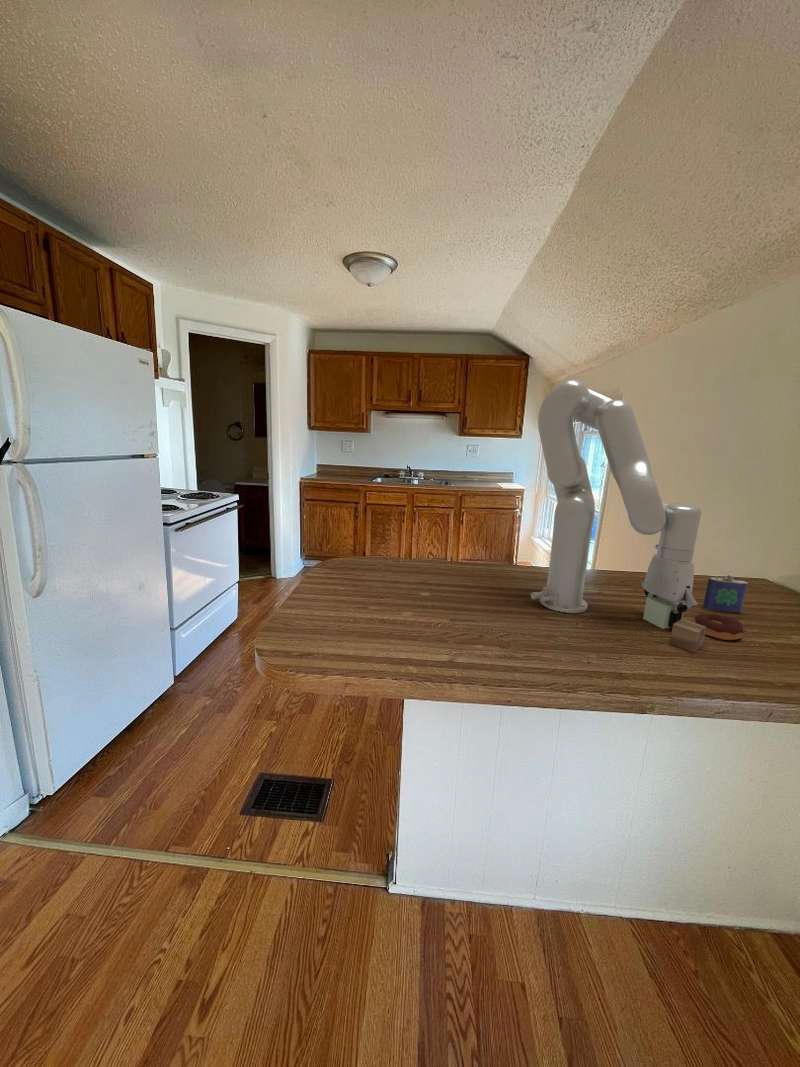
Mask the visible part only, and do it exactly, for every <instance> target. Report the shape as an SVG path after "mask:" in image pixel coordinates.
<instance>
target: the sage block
mask: <svg viewBox="0 0 800 1067" xmlns="http://www.w3.org/2000/svg"><path fill="white" fill-rule="evenodd" d="M644 605H645V606H644V612H643V618H642V620H645V621H647V622H648V623H651V624H653V625H655V626H657V627H658V628H660V629H662V630H665V629H671V628H673V627H669V626H668V623H669V618H670V613H671V612H673V607H672V602H670V601H668V600H665V599H663V598H661V597H658V596H657V597H648V598H647V599H646V598H645V604H644ZM678 607H679V603H678ZM684 613H685V612H684ZM684 613H682V618H681V619H683V618H684V617H683V616H684Z"/></svg>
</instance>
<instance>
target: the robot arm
mask: <svg viewBox="0 0 800 1067" xmlns="http://www.w3.org/2000/svg"><path fill="white" fill-rule="evenodd" d="M574 420H575V421H577V422H579V423H581V424H583V425H585V426H587V427H589V428H592V429H595V430H597V431H598V435H599V437H600V438H599V439H600V441H601V443H602V446H603V447H602V448H603V450H604V453H605V456H606V459H607V462H608V465H609V468H610V472H611V474H612V476H613V479H614V480H615V482H616V484H617V486H618V488H619V491H620V494H621V497H622V500H623V503H624V507H625V510H626V513H627V517H628V520H629V522H630V525H631V526H630V527H631V528H632V529H633V530H634V531H635V532H636V533H638V534H640V535H643V536H652V535H653V536H654V535H656V534H658V533H659V532H660V535H659V539H658V543H657V544H655V546H654V547H655V549H656V550H657V551H656V554H653V556H652V557H651V561H650V563H649V566H648V568H647V571H646V575H645V579H644V580H643V581H641V582H640V585H641V588H642V589H643V593H644V594H645V596H646V598H645V600H646V599H647V598H648V597H657V596H658V597H661V598H663V599H665V600H668V601H670V602H672V607H673V612H671V613H670V618H669V623H668V626H669V627H673V624H674V623H676V622H678V621H679V620H681V618H682V613H686V612H687V611H689V610H691V609H693V608H696V607H697V606H698V602H697V600H696V599H695V597H694V595H693V587H694V579H695V568H694V567H695V566H694V562H693V556H694V552H695V547H696V542H697V537H698V532H699V531H698V530H699V527H700V521H701V516H702V510H701V508H700V507H698V506H696V505H693V504H687V503H668V502H662V499H661V495H660V491H659V490H658V486H657V483H656V481H655V478H654V474H653V471H652V466H651V463H650V459H649V457H648V453H647V450H646V447H645V444H644V441H643V438H642V435H641V432H640V429H639V425H638V422H637V419H636V416H635V413H634V410H633V408H632V406H631V404H630V403H629V402H627V401H625V400H623V399H613V398H610V397H608V396H606V395H603V394H601V393H598V392H596V391H595V390H593V389H590V388H588V387H587V385H585V383H583V381H581V380H578V379H573V378H572V379H565V380H563V381H561V382H560V383H558V384H557V385H556V386H554V387H553V388H552V389H551V390H550V391H549V392H548V393H547V395H546V396H545V397H544V399H543V401H542V403H541V405H540V408H539V411H538V416H537V427H538V428H537V429H538V434H539V438H540V439H539V440H540V443H541V448H542V453H543V458H544V461H545V462H544V463H545V465H546V473H547V477H548V480H549V482H550V483H551V484H552V485H553V489H554V493H555V496H556V500H557V503H556V506H555V510H554V515H553V527H552V528H553V529H552V537H551V538H552V539H551V548H550V556H549V557H550V558H549V566H548V574H547V582H546V586H544V587H543V588H542V590H540V591H533V592H531V593H530V598H531V599H532V600H539V601H538V602H539V603H540V604H541V605H542V606H544V607H546V608H547V609H550V610H551V611H556V612H559V611H560V613H564V612H565V614H579V613H584V612H585V611H587V609H588V603H587V601H586V600H585V599H584V598H583V597H584V596H583V595H584V588H585V581H586V575H587V568H588V567H587V566H588V562H589V561H588V560H589V555H590V554H589V551H590V544H591V538H592V531H593V526H594V521H595V513H596V505H595V498H594V494H593V490H592V487H591V483H590V478H589V473H588V468H587V466H586V462H585V459H584V458H583V457H582V456H581V454H580V450H579V446H578V443H577V437H576V432H575V429H574V427H575V426H574ZM678 603H679V607H678Z"/></svg>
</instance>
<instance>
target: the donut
mask: <svg viewBox="0 0 800 1067" xmlns="http://www.w3.org/2000/svg"><path fill="white" fill-rule="evenodd" d="M693 619H694V620H693V621H692V622H693V623H696V624H699V625H702V626H706V632H705V636H707V637H708V636H709V637H711V638H715V639H718V640H721V641H722V640H723V641H735V640H738V639H741V638H742V637H743V633H744V627H743V625H742V623H741V622H740V621H739V620H738V619H734V618H733V617H729V616H726V615H725V616H724V615H720V614H717V613H703V612H702V613H698V614H697V615H696V616H695V617H693Z"/></svg>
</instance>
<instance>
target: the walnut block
mask: <svg viewBox="0 0 800 1067" xmlns="http://www.w3.org/2000/svg"><path fill="white" fill-rule="evenodd" d="M693 622H694V621H690V620H686V619H681V620H679V621H678V622H676V623H674V624H673V628H672V630H671V634H670V639H669V644H670V645H672V646H674V647H677V648H680V649H683V650H686V651H688V652H691V653H696V652H698V650H699V649H701V648H702V647H703V644H704V640H705V636H706V635H705V632H706V626H702V625H699V624H696V623H693Z"/></svg>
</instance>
